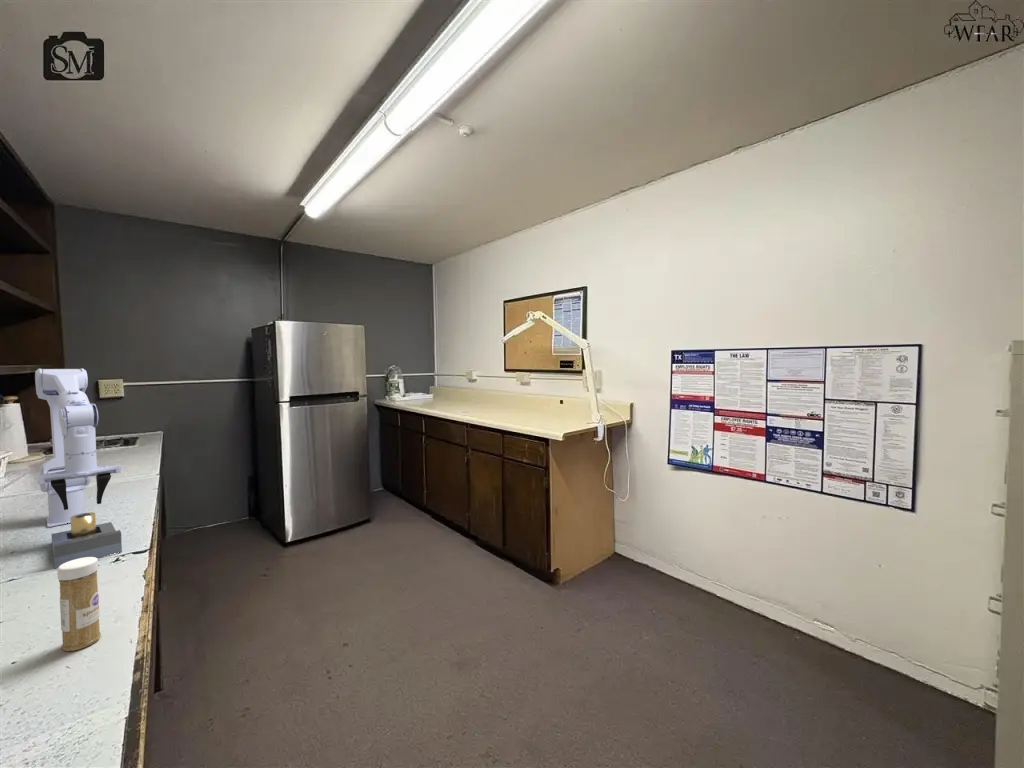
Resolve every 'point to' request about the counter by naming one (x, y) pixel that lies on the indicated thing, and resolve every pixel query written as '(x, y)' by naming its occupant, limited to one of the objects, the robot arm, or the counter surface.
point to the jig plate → (87, 553)
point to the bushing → (83, 525)
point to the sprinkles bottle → (79, 603)
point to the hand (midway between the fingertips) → (82, 506)
